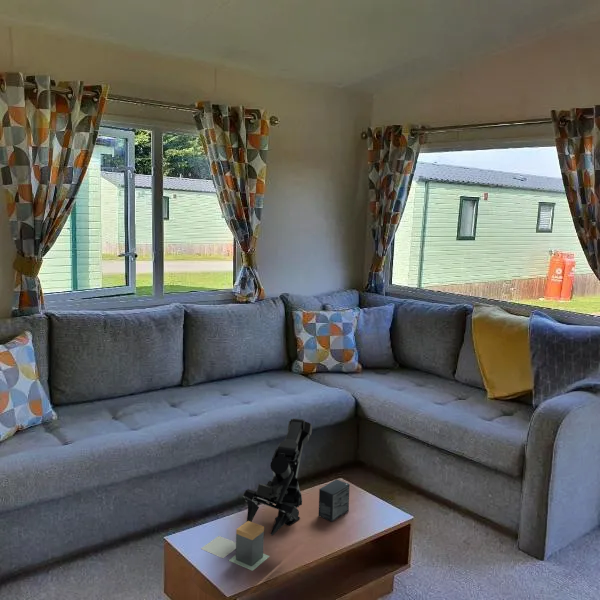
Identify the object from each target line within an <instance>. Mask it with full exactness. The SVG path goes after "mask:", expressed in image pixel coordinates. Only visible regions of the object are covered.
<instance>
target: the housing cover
mask: <svg viewBox="0 0 600 600" xmlns="http://www.w3.org/2000/svg"><path fill="white" fill-rule="evenodd" d="M235 530H236V531H235V535H236V534H238V535H240V536H243V537H246V538H248V539H251V540H253V539H255V538H256V537H257V536H258V535H260V534H261V533H262V532H264V533H265V526H263V525H261V524H258V523H256V522H253V521H252V522H250V521H247V520H246V521H245V522H244V523H243V524H242V525H239V527H237V528H236V529H235Z"/></svg>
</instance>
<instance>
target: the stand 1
mask: <svg viewBox="0 0 600 600" xmlns="http://www.w3.org/2000/svg"><path fill="white" fill-rule="evenodd" d="M200 550H203V551H204V552H208V553H210V554H211V555H214V556H217V557H219V558H220V559H225V558H226V557H227V556H228V555H230V554H232V552H234V551H236V541H233V540H231V539H228V538H226V537H223V536H221V535H218V536H216V537H215V538H213V539H212V540H211V541H209V542H208V543H207V544H205V545H204V546H202V547H200Z"/></svg>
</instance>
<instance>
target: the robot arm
mask: <svg viewBox="0 0 600 600" xmlns="http://www.w3.org/2000/svg"><path fill="white" fill-rule="evenodd" d="M312 432H313V426H312V424H311V423H310V422H307V421H305V419H301V418H291V419H290V420H288V425H287V433H286V437H285V439H284V440H283V441H281V442H279V444H278V446H277V448H276V449H275V450H274V453H273V456H272V458H271V462H270V465H269V466H270V469H271V471H272V474H273V476H272V478H271V480H268V481H267V483H266V484H265V483H258V485H257V489H256V491H255V490H252V489H250V488H247V489H246V490H244V492H243V494H242V497H243V498H244V501H245V502H246V503H247V516H246V522H247V521H250V522H253V519H254V518H255V516H256V514H257V512H258V510H259V508H260V507H259V505H260V504H262V505H265V506H268V507H271V508H273V509H275V510H278V512H277V516H275V518H274V520H275V522H274V524H273V526H272V528H271V530H270V535H271V536H274V535H275V533H276V532H278V531H279V530H280V529H282V528H283V526H285V525H286V526H288V527H289V526H292V525H293V524H294V523H296V522H297V521H299V520H300V519H301V517H300V516H299V515H300V513H299V512H300V511H299V509H298V508H299V507H300V506H302V505H303V497H302V495H303V494H302V492H301V490H300V485H299V481H298V474H299V470H300V469H299V468H300V463H301V458H302V453H303V448H304V446H305V445H306V444H307V443H308V442H309V440H310V436H312Z"/></svg>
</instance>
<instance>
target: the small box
mask: <svg viewBox="0 0 600 600" xmlns="http://www.w3.org/2000/svg"><path fill="white" fill-rule="evenodd" d="M318 490H319V492H318V493H319V494H318V495H319V497H318V517H320V518H322V519H324V520H326V521H328V522H331V523H333V522H334V521H336V520H337V519H339V518H341V517H342V516H344V515H345V514H347V513H348V512H349V511H350V507H349V505H350V483H348V482H344V481H342V480H340V479H335V480H332V481H331V482H329V483H328V484H326V485H324V486H322V487H321V488H319V489H318Z"/></svg>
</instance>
